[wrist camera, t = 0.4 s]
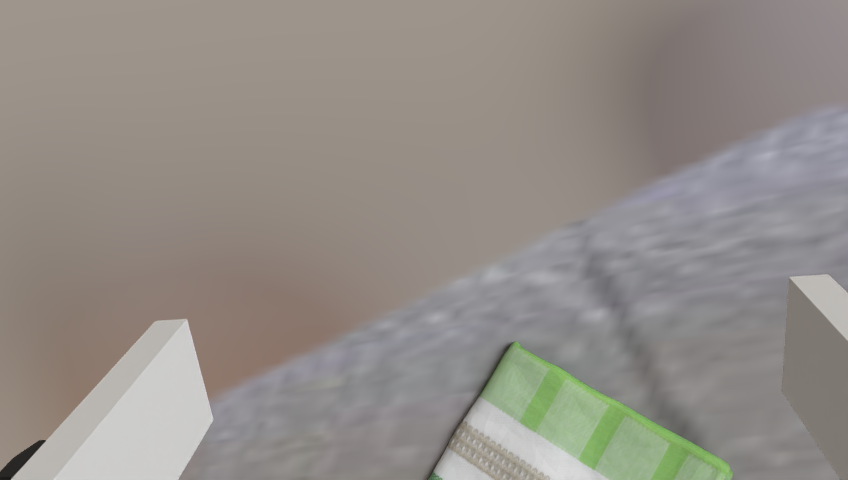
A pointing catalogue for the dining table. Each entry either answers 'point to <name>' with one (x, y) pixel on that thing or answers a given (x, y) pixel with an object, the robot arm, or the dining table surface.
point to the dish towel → (563, 433)
